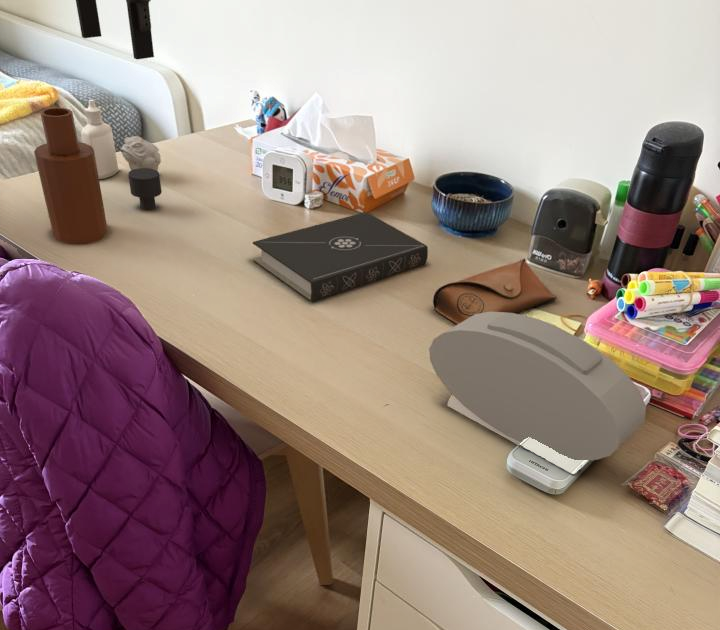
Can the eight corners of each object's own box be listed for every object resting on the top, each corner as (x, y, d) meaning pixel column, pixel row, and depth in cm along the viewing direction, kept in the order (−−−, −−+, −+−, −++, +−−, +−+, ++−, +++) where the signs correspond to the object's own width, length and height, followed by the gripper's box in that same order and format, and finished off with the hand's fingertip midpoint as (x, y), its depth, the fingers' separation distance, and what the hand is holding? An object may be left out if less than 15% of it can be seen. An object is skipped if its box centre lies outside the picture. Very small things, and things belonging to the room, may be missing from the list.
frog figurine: (116, 177, 125) (110, 135, 121) (149, 168, 130) (144, 127, 125) (138, 187, 123) (132, 145, 118) (171, 178, 127) (166, 136, 122)
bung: (131, 213, 115) (126, 178, 111) (134, 201, 118) (130, 167, 115) (162, 214, 116) (157, 179, 112) (164, 202, 119) (160, 168, 115)
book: (312, 303, 98) (313, 283, 96) (252, 261, 106) (252, 241, 104) (427, 265, 109) (429, 246, 107) (365, 229, 117) (366, 211, 115)
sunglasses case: (475, 332, 94) (464, 281, 92) (439, 335, 100) (428, 288, 98) (561, 297, 103) (553, 250, 101) (524, 302, 109) (515, 258, 107)
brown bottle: (48, 243, 105) (19, 119, 94) (58, 221, 111) (32, 102, 99) (103, 244, 106) (81, 122, 95) (110, 222, 112) (90, 104, 100)
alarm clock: (625, 466, 77) (668, 367, 68) (598, 494, 73) (640, 392, 64) (452, 375, 87) (471, 278, 79) (421, 395, 84) (437, 296, 75)
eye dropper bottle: (123, 176, 126) (112, 102, 118) (92, 181, 123) (78, 105, 115) (115, 168, 129) (103, 95, 120) (83, 172, 126) (69, 98, 118)
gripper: (174, -143, 83) (191, 63, 97) (65, -159, 95) (94, 26, 109) (116, -145, 79) (143, 70, 93) (10, -162, 91) (48, 31, 105)
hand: (117, 47), depth 101 cm, fingers open, 13 cm apart
